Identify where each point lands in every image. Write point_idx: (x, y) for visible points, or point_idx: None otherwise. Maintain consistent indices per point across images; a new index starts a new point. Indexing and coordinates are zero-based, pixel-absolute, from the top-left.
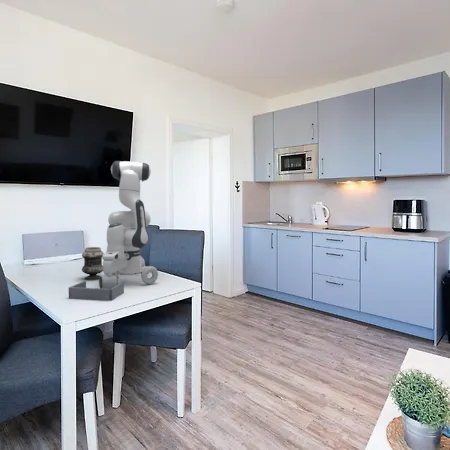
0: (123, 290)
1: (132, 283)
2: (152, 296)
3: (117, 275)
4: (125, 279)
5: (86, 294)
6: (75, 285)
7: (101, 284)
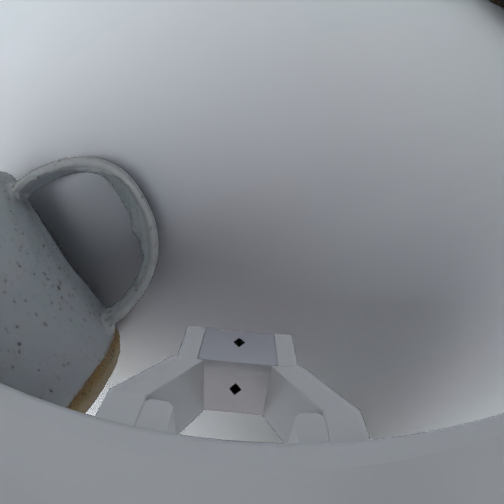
0: None
1: None
2: None
3: (266, 407)
4: (498, 302)
5: None
6: None
7: (15, 199)
